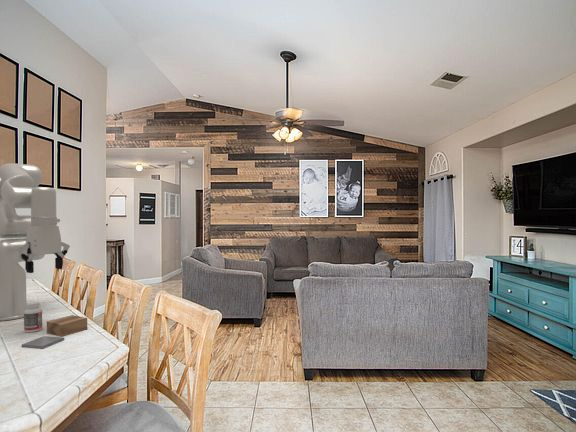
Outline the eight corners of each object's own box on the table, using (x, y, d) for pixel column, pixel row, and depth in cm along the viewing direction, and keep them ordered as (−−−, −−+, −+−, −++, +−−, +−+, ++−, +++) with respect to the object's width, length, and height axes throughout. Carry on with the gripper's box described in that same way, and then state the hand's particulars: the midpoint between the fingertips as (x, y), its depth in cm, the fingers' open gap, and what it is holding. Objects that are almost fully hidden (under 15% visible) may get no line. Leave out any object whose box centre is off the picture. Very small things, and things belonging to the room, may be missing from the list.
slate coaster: (21, 346, 114) (21, 344, 114) (44, 338, 122) (44, 336, 122) (42, 348, 112) (42, 346, 112) (64, 340, 120) (64, 337, 120)
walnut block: (46, 332, 128) (46, 321, 128) (72, 325, 136) (72, 315, 136) (61, 336, 124) (61, 324, 124) (87, 329, 132) (87, 317, 132)
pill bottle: (42, 330, 131) (41, 303, 130) (23, 333, 128) (23, 305, 127) (42, 327, 135) (42, 300, 135) (24, 329, 132) (24, 302, 132)
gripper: (62, 221, 140) (63, 266, 140) (10, 223, 124) (11, 273, 124) (74, 221, 136) (75, 268, 136) (22, 223, 121) (23, 275, 121)
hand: (44, 270), depth 130 cm, fingers open, 9 cm apart
